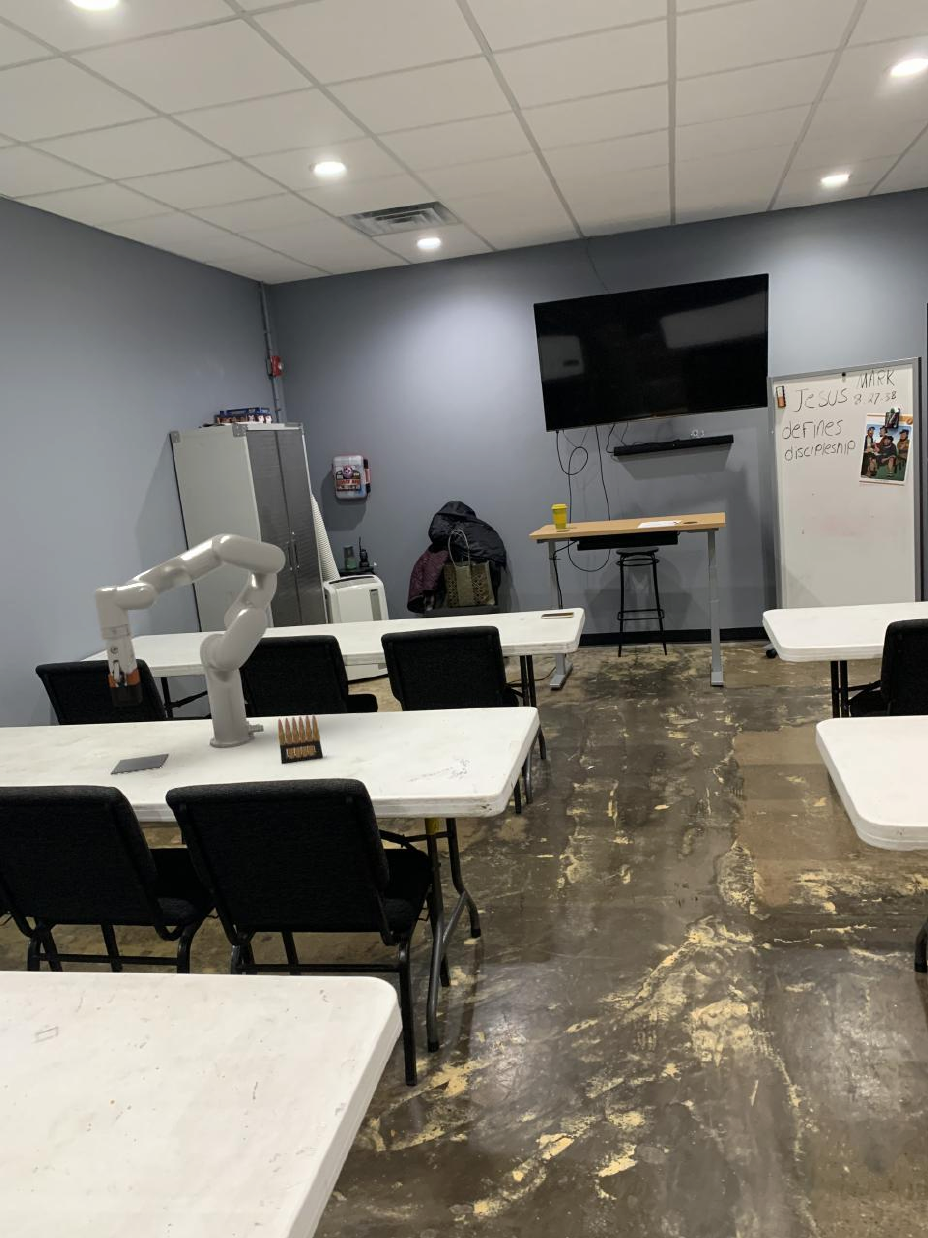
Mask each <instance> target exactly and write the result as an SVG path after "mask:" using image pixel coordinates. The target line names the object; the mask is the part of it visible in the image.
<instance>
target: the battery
mask: <svg viewBox="0 0 928 1238" xmlns="http://www.w3.org/2000/svg"><path fill="white" fill-rule="evenodd" d="M123 674H124V672H123V673H120V675H123ZM121 678H123V679H124V677H121ZM127 680H128V685H129V686H130V691H131V697H132V699H131V700H128V701H119V698H118V693H117V687H116V681H115V679H114V676H112V675H111V673H109V674H108V682H109V686H110V692H111V697H112V698H111V699H112V702H113V707H114V708H118V707H119V708H120V707H121V708H122V707H128V706H134V705H135V706H136V705H137V706H138V705H140V704H141V703H142V702H143V701H144V696H143V690H142V684H141V678H140V673H139V669H138V668H136V669H134V670H133V671H132V673H131V674H129V675H128V674H127Z"/></svg>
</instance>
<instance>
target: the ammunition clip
mask: <svg viewBox="0 0 928 1238" xmlns="http://www.w3.org/2000/svg"><path fill="white" fill-rule="evenodd" d="M277 721H278V722H277V728H278V729H277V730H278V743H279V750H280V761H281V765H285V764H287V765H288V764H293V763H300V762H301V763H302V762H309V761H314V760H323V758H324V756H323V751H322V744H321V738H320V737H321V736H320V729H319V728H318V721H317V717H316V716H315V714H314V713H313V714H312V717H311V721H310V718H309V716H308V715H307V714H306V715H305V722H303V718H302V716H300V715H299V717H298V725H297V721H296V718H295V717H294V716H293V717H292V719H291V724H290V721H289V719H288V718H287V717H285V719H284V726H283V722H282V720H281V719H280V718H278V720H277ZM304 723H305V725H304ZM311 723H312V725H311ZM290 725H291V726H290ZM311 726H312V727H311ZM284 727H285V728H284ZM284 729H285V731H284Z"/></svg>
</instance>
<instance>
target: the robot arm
mask: <svg viewBox="0 0 928 1238" xmlns="http://www.w3.org/2000/svg"><path fill="white" fill-rule="evenodd" d="M285 564H286V555H285V553H284V551H283V550H282V549H281V548H280V547H279V546H277V545H274V544H272V543H268V542H264V541H261V540H260V541H259V540H256V539H252V538H248V537H246V536H245V537H244V536H241V535H238V534H234V533H220V534H219V533H218V534H216V535H214V536H212V537H210V538H207V540H205V541H202V542H201V543H199V544H197V545H195V546H194V547H192V548H190V549H188V550H186V551H184V552H183V553H181V554H179V555H176V556H174V557H172V558H169V559H168V560H166V561H165V562H162V563H160V564H158V565H156V566H154V567H151V568H149V569H148V570H146V571H144V572H142V573H140V574H138V575H137V576H135V577H133V578H132V579H129V580H127V582H125V583H124V585H117V584H116V585H115V584H114V585H107V586H106V585H105V586H102V587H98V588H96V589H95V590H94V593H93V597H94V602H95V606H96V613H97V618H98V619H97V620H98V625H99V629H100V637H101V640H102V641H105V645H106V647H105V649H106V654H107V655H106V656H107V660H108V667H109V672H110V674H111V675H112V676H114V679H115V681H116V687H117V693H118V698H119V701H128V700H131V699H132V697H131V691H130V686H129V685H128V680H127V674H128V675H129V674H131V673H132V671H133V670H134V669H138V664H137V659H136V654H135V651H134V650H135V649H134V645H133V641H132V638H131V637H132V636H133V633H132V628H131V621H130V616H129V611H142V610H148V609H150V608H152V607H153V606H154V605H155V604H156V603H157V601H158V597H159V595H162V594H163V593H165V592H167V591H169V590H172V589H175V588H179V587H184V586H188V585H191V584H194V583H196V582H198V581H200V580H201V579H204V578H205V577H206V576H208V575H210V574H212V573H213V572H216V571H217V570H220V569H221V568H223V567H225V566H226V565H231V566H235V567H238V568H241V569H246V570H247V572H248V575H247V576H248V578H247V582H246V583H245V585H244V587H243V589H242V591H241V592H240V593H239V595H238V596H237V598H236V599H235V601H234V602H233V603H232V605H231V606H230V607H229V608H228V610H227V611H226V612H225V615H224V617H223V619H224V620H223V622H224V623H223V624H224V626H225V628H226V629H225V632H224V633H213V634H209V635H208V636H206V637H205V638H204V639H203V641H202V642H201V644H200V649H199V656H200V661H201V666H202V669H203V672H204V677H205V682H206V689H207V695H208V702H209V709H210V715H211V720H212V721H211V722H212V729H213V734H214V735H213V737H212V738H210V740H209V745H210V746H211V747H214V748H230V747H231V748H232V747H235V746H241V745H244V744H247V743H249V742H251V741H253V740H254V739H255V733H264V731H265V730H264V728H265V727H264V725H263V724H260V723H258V724H250V721H249V720H247V714H246V706H245V701H244V700H245V699H244V694H243V687H242V686H243V685H242V679H241V673H240V670H239V669H240V668H241V667H242V666H244V664H245V663H246V662H247V660H248V659H249V657H250V656H251V654H252V653H253V651H254V650H255V648H256V647H257V645H259V643H260V641H261V640H262V638H263V636H264V635H265V633H266V631H267V629H268V623H269V622H268V615H267V614H266V612H265V611H266V610H267V608H268V606H269V605H270V603H271V601H273V598H274V596H275V594H276V591H277V586H278V585H277V584H278V577H277V573H279V572H281V571H282V570H283V569H284V567H285ZM123 672H124V674H123V675H120V673H123ZM121 677H124V679H123V678H121Z"/></svg>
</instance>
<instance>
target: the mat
mask: <svg viewBox="0 0 928 1238" xmlns="http://www.w3.org/2000/svg"><path fill="white" fill-rule="evenodd" d="M169 754H170V753H169V752H168V753H162V754H156V755H149V756H142V757H141V756H139V757H133V758H126V759H120V760H119V762H118V763H117V764H116V765H115V766H114V768H113V769H112V770H111V772H110V775H111V776H112V775H113V774H114V775H119V774H118V773H121V774H125V773H124V772H128V773H133V772H132V771H135V772H140V771H139V770H142V771H147V770H146V769H150V770H154V769H153V768H157V769H161V768H163V766H164V764H165V762H166V761H167V759H168V757H169ZM160 767H161V768H160Z"/></svg>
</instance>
